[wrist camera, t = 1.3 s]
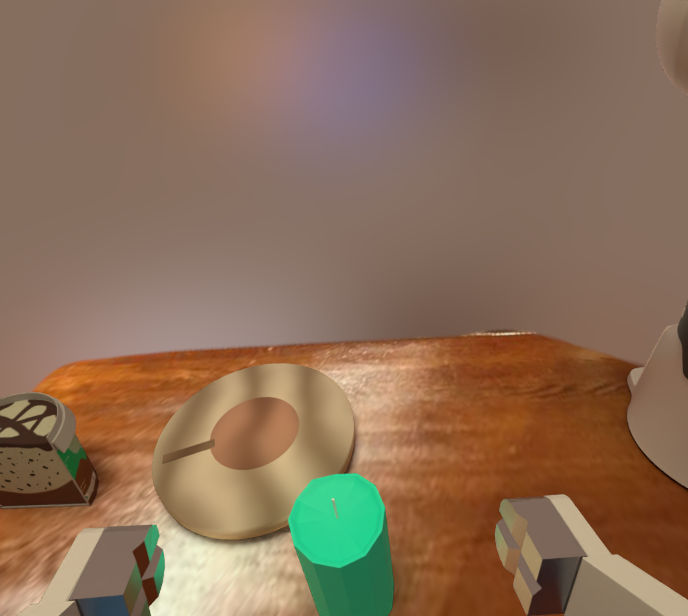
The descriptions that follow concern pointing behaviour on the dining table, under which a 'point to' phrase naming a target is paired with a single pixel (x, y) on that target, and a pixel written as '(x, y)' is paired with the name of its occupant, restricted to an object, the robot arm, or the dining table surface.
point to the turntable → (251, 449)
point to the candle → (344, 546)
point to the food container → (42, 455)
